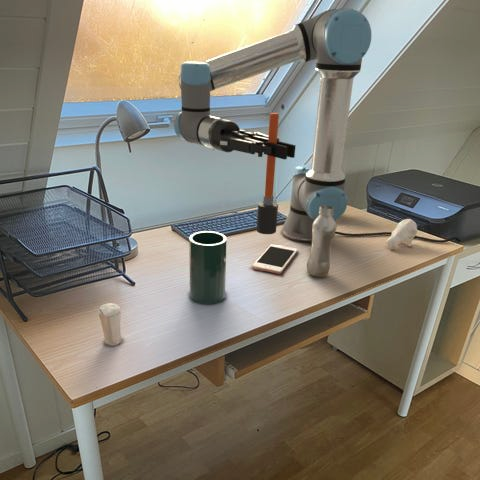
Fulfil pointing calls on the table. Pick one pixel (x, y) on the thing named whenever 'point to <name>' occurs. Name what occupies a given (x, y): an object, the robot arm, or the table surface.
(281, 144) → the robot arm
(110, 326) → the milkshake
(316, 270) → the plastic bottle
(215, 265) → the cup
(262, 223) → the brush
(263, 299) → the table surface
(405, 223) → the white animal figurine
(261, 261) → the cell phone
